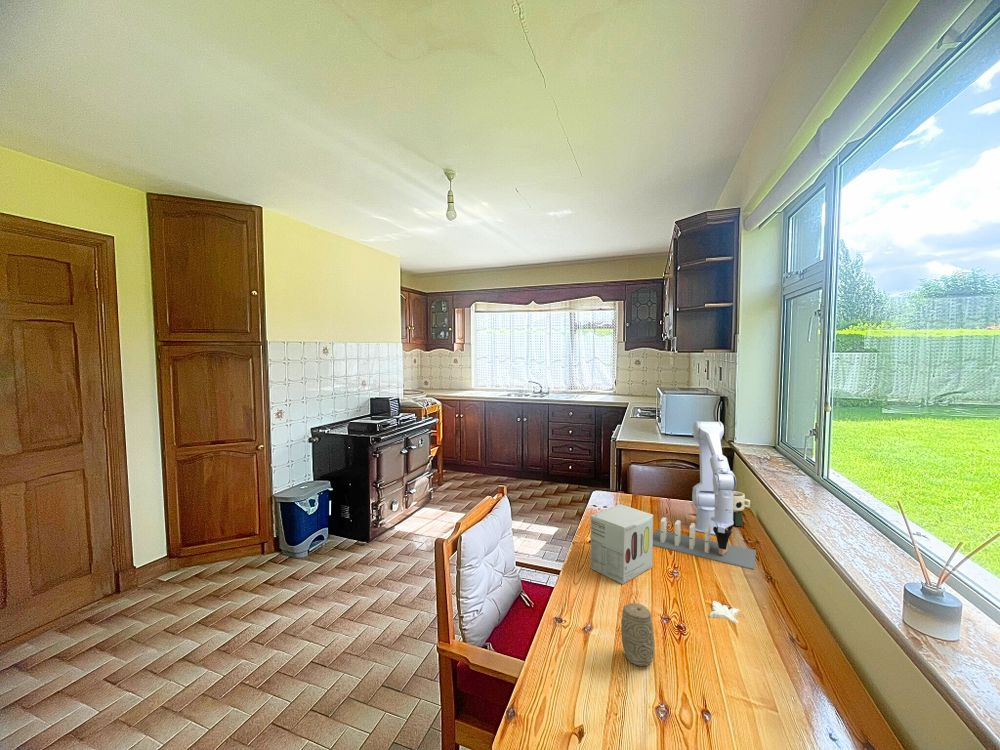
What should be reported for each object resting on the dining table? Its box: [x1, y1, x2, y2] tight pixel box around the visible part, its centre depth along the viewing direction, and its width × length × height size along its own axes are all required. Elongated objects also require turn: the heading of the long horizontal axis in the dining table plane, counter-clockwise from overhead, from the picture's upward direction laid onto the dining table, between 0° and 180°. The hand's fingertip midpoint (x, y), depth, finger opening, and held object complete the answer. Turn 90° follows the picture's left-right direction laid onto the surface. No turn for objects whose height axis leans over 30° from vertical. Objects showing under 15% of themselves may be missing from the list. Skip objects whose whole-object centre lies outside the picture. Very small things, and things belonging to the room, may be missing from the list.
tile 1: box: [659, 516, 668, 543], centre depth 156 cm, size 5×1×8 cm, turn 146°
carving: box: [620, 602, 655, 667], centre depth 96 cm, size 6×8×12 cm
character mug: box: [733, 490, 751, 527], centre depth 171 cm, size 11×7×13 cm, turn 60°
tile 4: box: [704, 526, 711, 553], centre depth 148 cm, size 5×1×8 cm, turn 146°
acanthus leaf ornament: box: [709, 600, 740, 624], centre depth 112 cm, size 8×7×2 cm
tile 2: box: [674, 519, 682, 546], centre depth 154 cm, size 5×1×8 cm, turn 146°
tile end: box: [719, 528, 729, 555], centre depth 145 cm, size 5×1×8 cm, turn 131°
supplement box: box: [590, 503, 654, 585], centre depth 137 cm, size 17×13×18 cm
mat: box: [653, 528, 757, 571], centre depth 151 cm, size 15×34×1 cm, turn 56°
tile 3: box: [688, 522, 696, 549], centre depth 151 cm, size 5×1×8 cm, turn 146°
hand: (723, 545), depth 145 cm, fingers closed on tile end, 4 cm apart
